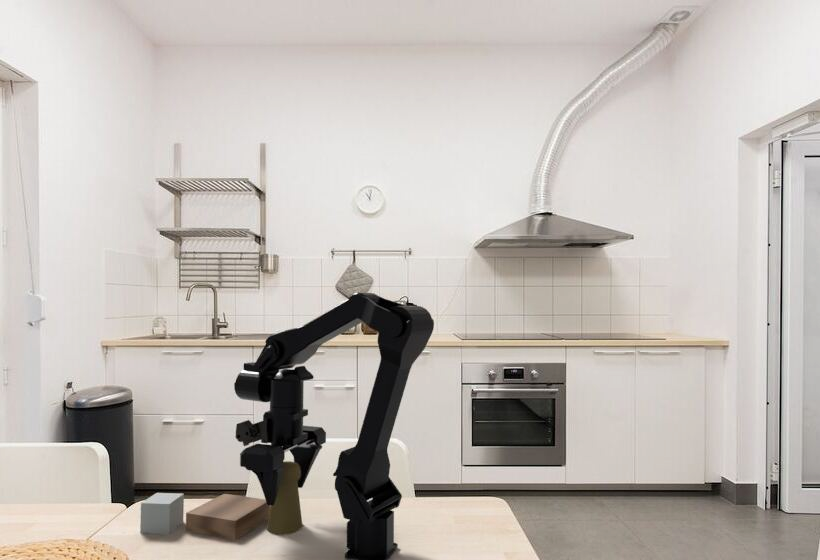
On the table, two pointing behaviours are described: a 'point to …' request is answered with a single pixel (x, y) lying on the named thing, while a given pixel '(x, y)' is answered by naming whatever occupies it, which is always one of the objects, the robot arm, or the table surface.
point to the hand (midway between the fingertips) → (285, 495)
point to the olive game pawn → (286, 503)
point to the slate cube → (162, 513)
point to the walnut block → (227, 516)
